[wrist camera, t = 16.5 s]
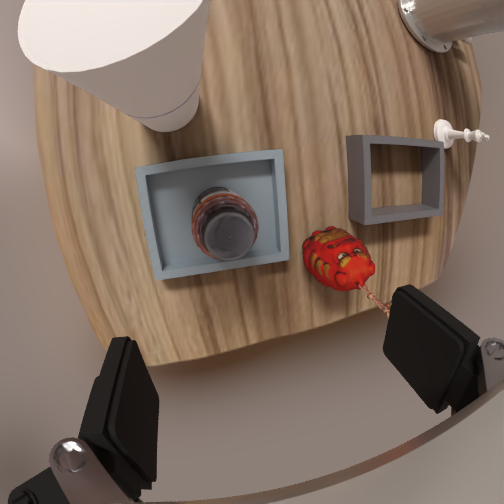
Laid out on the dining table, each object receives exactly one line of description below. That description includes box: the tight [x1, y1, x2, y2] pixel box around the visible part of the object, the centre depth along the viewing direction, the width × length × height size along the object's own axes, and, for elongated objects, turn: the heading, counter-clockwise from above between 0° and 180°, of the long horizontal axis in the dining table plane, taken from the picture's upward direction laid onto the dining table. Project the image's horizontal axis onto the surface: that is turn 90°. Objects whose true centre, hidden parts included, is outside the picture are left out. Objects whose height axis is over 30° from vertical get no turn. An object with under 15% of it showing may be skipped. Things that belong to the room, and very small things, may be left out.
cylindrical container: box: [18, 0, 210, 132], centre depth 16 cm, size 7×7×25 cm
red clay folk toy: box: [302, 226, 392, 319], centre depth 31 cm, size 8×7×15 cm
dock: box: [346, 135, 444, 225], centre depth 34 cm, size 15×11×4 cm
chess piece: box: [434, 119, 490, 149], centre depth 31 cm, size 5×5×10 cm
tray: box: [135, 149, 289, 280], centre depth 32 cm, size 16×13×2 cm
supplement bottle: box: [192, 187, 259, 261], centre depth 28 cm, size 6×6×11 cm
